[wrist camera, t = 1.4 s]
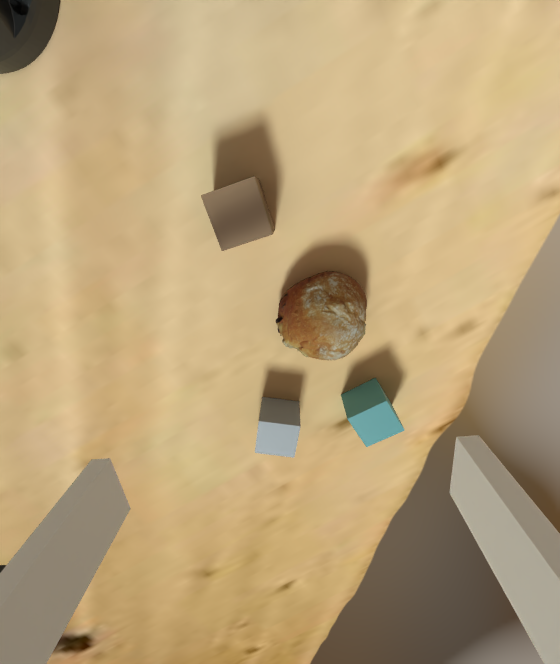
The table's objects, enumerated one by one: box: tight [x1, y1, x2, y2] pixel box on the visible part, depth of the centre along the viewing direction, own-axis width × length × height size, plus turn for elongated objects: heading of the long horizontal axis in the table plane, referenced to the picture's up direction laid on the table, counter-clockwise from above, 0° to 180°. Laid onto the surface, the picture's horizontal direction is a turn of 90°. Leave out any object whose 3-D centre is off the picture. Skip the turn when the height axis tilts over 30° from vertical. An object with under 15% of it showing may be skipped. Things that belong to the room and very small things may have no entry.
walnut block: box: [201, 176, 275, 251], centre depth 30 cm, size 5×5×5 cm
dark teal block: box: [341, 378, 404, 447], centre depth 39 cm, size 5×5×5 cm
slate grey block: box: [255, 397, 300, 457], centre depth 40 cm, size 5×5×5 cm
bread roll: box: [276, 271, 367, 360], centre depth 34 cm, size 10×10×8 cm
